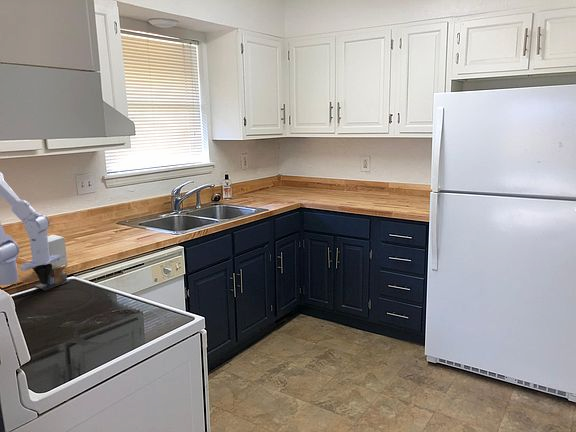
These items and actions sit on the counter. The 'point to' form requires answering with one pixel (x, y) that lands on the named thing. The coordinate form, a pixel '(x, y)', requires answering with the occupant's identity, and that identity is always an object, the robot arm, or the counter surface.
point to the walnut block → (56, 274)
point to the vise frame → (48, 286)
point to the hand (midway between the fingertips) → (44, 283)
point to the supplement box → (57, 249)
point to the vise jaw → (50, 280)
